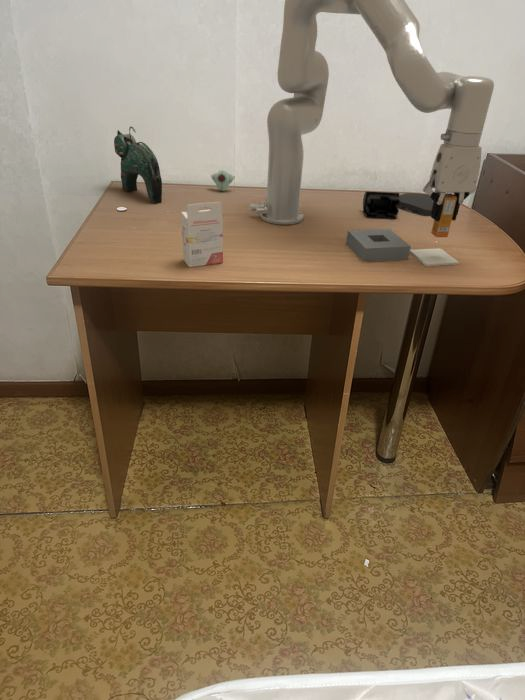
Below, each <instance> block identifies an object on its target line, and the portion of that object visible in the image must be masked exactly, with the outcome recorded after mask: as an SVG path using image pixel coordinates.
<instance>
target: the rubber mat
mask: <svg viewBox="0 0 525 700" xmlns="http://www.w3.org/2000/svg"><path fill="white" fill-rule="evenodd" d="M409 254H411V256H413V257H414V258H415V259H416V260H417V261H419V262H420V263H421V264H422V265H423V266H425V267H437V266H439V267H440V266H454V265H459V263H460V262H459V261H458V260H457V259H455V258H454V257H453V256H451V255H450V254H449V253H447V252H446V251H444V250H443V249H442V248H441V247H440V248H437V247H436V248H420V249H419V248H418V249H410V252H409Z"/></svg>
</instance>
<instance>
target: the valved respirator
mask: <svg viewBox="0 0 525 700" xmlns="http://www.w3.org/2000/svg"><path fill="white" fill-rule="evenodd" d="M210 177H211V179H212V181H213V182H214V183H215V185H216V187H217V189H218V190H219V191H222V192H224V191H226V190H227V189H228V188H229V186H230V184H232V182H233V181H234V180H235V179H236V176H235V175H233V174H230V173H228V172H227V171H226V170H224V169H223V170H219V171H218V172H216V173H212V174H210Z"/></svg>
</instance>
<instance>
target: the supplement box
mask: <svg viewBox="0 0 525 700" xmlns="http://www.w3.org/2000/svg"><path fill="white" fill-rule="evenodd" d="M456 200H457V197H456V196H454V195H453V193H445V196H444V199H443V201H442V205H443V210H442V214H441V218H440V221H436V220H434V219H433V224H432V228H431V231H430V233H431V235H433V236H434V237H435V238H448V237H449V232H450V228H451V224H452V221H453V220H452V217H453V212H454V208H455V204H456Z"/></svg>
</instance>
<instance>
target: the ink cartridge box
mask: <svg viewBox="0 0 525 700" xmlns="http://www.w3.org/2000/svg"><path fill="white" fill-rule="evenodd" d="M204 208H207V209H204ZM180 213H181V214H180V217H181V218H180V219H181V220H180V221H181V237H182V238H181V239H182V241H181V242H182V259H183V262H184V263H185V264H186V265H187V266H188V267H189V268H194V267H202V266H208V265H216V264H218V265H219V264H223V262H224V254H223V253H224V250H223V249H224V241H223V240H224V224H223V223H224V222H223V221H224V220H223V219H224V218H223V215H222V214H223V204H222V202H221V201H214V202H213V201H212V202H198V203H190V204H189V203H188V204H186V211H181V212H180Z"/></svg>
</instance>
